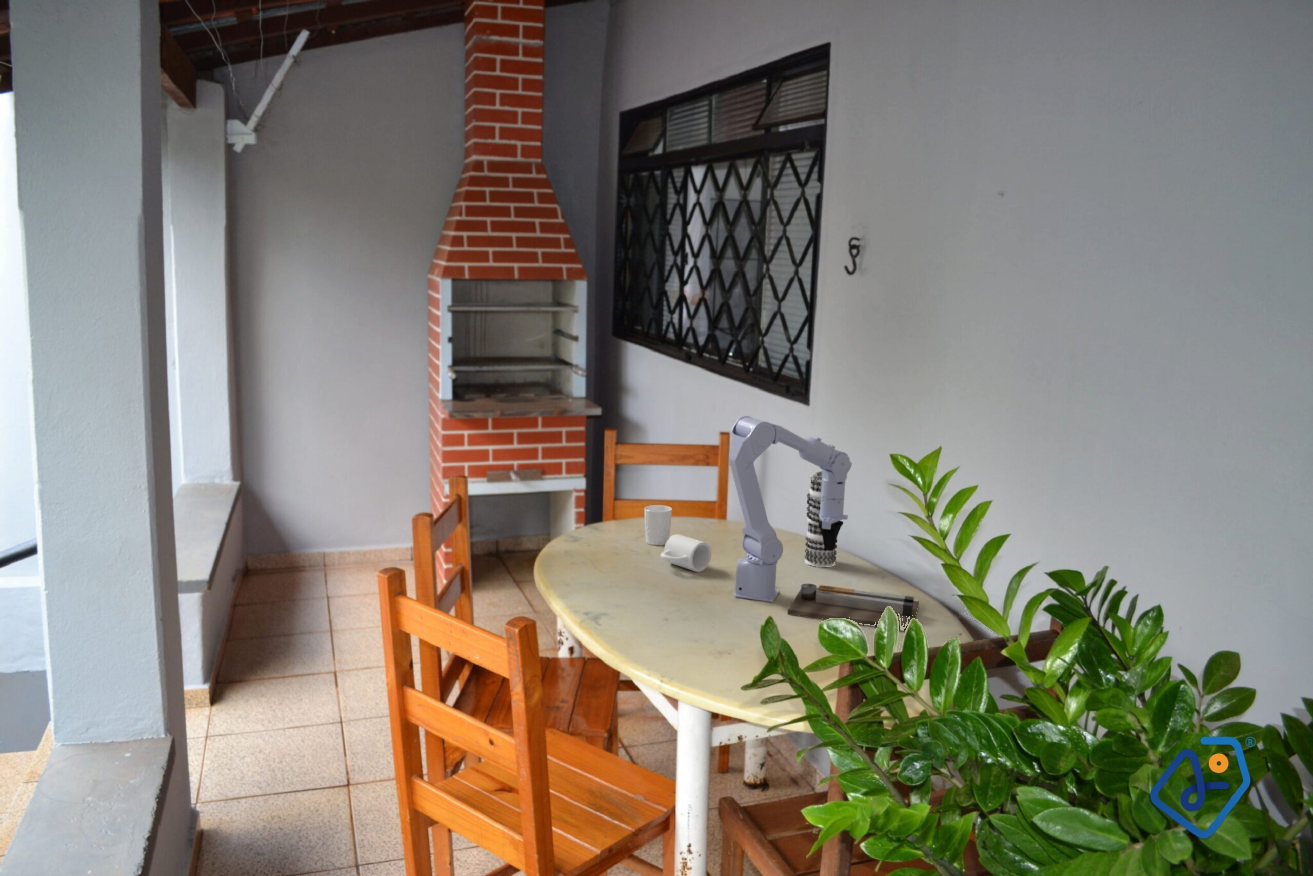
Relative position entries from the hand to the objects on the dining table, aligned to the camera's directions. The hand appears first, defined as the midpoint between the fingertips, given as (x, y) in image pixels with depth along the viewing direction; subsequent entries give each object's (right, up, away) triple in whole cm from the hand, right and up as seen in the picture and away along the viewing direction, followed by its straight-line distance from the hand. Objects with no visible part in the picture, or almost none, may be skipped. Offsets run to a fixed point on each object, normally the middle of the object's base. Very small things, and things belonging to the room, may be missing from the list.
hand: (829, 549), depth 245 cm
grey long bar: (+5, -12, -17) cm, 21 cm away
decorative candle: (+1, -6, +20) cm, 21 cm away
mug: (-37, -7, +12) cm, 39 cm away
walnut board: (+3, -12, -15) cm, 20 cm away
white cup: (-43, -2, +35) cm, 56 cm away
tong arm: (+4, -11, -15) cm, 19 cm away
